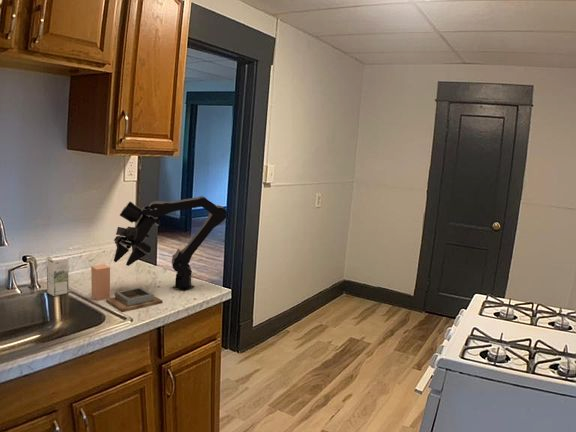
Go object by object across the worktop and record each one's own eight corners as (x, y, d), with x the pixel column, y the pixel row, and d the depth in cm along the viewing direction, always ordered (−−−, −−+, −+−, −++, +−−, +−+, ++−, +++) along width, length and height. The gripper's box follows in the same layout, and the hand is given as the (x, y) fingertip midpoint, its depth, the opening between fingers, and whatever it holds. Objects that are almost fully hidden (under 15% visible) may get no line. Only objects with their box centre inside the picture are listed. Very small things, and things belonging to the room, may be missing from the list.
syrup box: (62, 289, 183) (61, 254, 180) (69, 293, 179) (68, 257, 176) (47, 293, 178) (46, 256, 176) (54, 297, 174) (53, 259, 172)
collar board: (145, 293, 184) (145, 285, 184) (162, 302, 175) (162, 294, 174) (106, 301, 173) (106, 292, 172) (121, 312, 164) (121, 302, 163)
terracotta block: (104, 294, 181) (104, 264, 179) (110, 297, 177) (109, 267, 175) (91, 296, 177) (91, 266, 175) (97, 300, 174) (96, 269, 172)
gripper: (115, 216, 184) (92, 249, 179) (140, 220, 172) (117, 256, 167) (135, 230, 192) (114, 263, 186) (161, 236, 180) (139, 271, 174)
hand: (120, 263), depth 178 cm, fingers open, 9 cm apart
